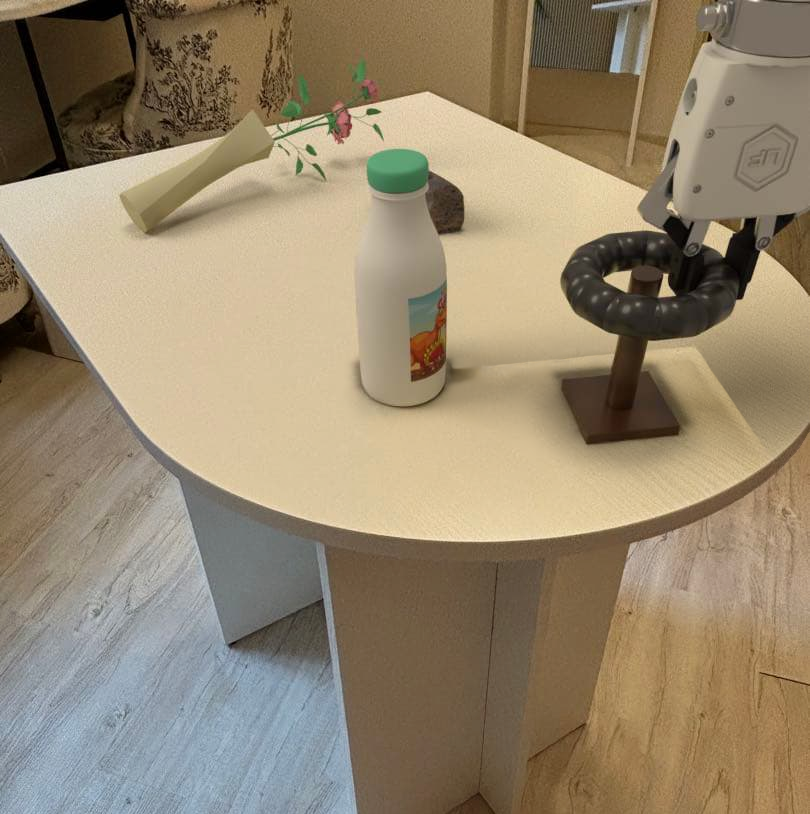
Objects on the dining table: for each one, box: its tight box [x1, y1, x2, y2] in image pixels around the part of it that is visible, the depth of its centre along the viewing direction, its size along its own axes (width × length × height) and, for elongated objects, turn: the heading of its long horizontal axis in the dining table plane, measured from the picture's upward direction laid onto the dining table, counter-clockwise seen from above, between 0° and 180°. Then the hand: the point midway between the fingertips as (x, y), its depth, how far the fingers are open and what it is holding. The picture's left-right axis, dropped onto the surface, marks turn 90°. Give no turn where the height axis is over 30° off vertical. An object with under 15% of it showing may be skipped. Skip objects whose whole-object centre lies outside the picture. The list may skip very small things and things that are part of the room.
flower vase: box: [118, 58, 385, 234], centre depth 99 cm, size 12×12×35 cm
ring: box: [559, 229, 740, 342], centre depth 61 cm, size 13×13×3 cm
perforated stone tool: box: [425, 170, 465, 235], centre depth 92 cm, size 15×5×7 cm, turn 36°
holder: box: [560, 266, 681, 445], centre depth 65 cm, size 8×8×13 cm
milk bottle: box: [353, 148, 448, 407], centre depth 66 cm, size 8×8×20 cm
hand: (705, 291), depth 62 cm, fingers closed on ring, 3 cm apart
